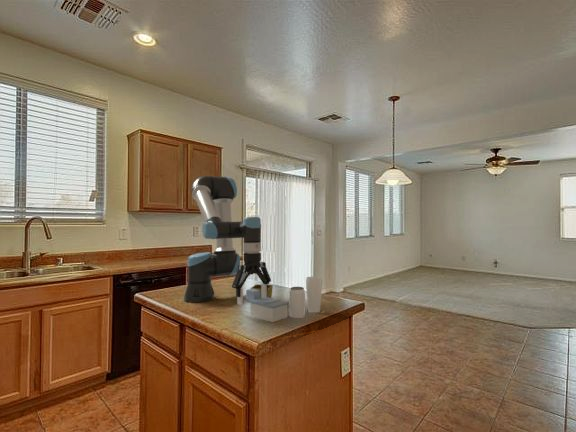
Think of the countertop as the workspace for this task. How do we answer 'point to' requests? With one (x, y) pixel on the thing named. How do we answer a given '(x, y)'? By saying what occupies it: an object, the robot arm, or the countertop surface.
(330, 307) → the countertop surface
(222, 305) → the countertop surface
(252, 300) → the lid
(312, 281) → the drinking glass
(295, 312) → the can
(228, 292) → the countertop surface
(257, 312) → the tub
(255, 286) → the flower pot
